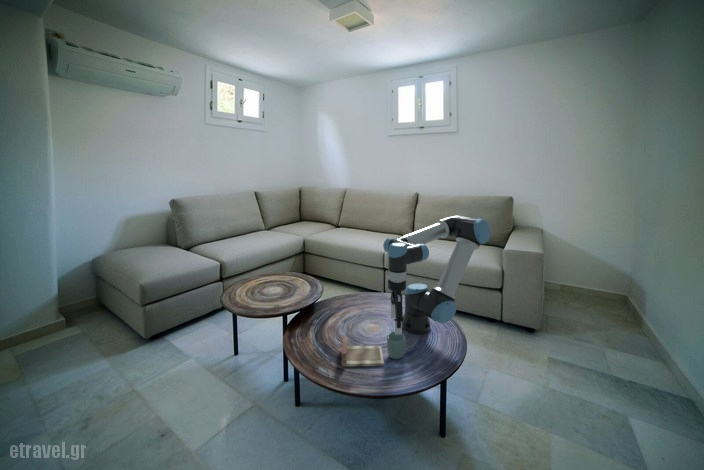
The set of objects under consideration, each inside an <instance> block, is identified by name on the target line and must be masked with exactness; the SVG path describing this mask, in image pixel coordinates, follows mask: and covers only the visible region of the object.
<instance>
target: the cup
mask: <svg viewBox="0 0 704 470" xmlns="http://www.w3.org/2000/svg"><path fill="white" fill-rule="evenodd" d="M405 348H406V336H405V334H404V333H402V334H395V331H391V332H389V333H388V334H387V335H386V351H387V355H388V357H390V358H391V359H393V360H400V359H401V358H402V357H403V356H404V355H405V350H406V349H405Z"/></svg>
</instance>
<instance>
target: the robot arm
mask: <svg viewBox="0 0 704 470" xmlns="http://www.w3.org/2000/svg"><path fill="white" fill-rule="evenodd" d="M448 237H449V238H455V241H456V245H455V247H454V249H453V251H452V253H451V255H450V257H449V259H448V261H447V264H446V266H445V268H444V270H443V272H442V275H441V277H440V278H439V281H438V283H437V285H436V286H434V287H432V289H431V290H429V289H430V288H429V285H427V284H424V283H411V284H408V285H407V281H406V280H407V269H408V267H407V266H408V265H412V264H416V263H420V262H422V261H426V260H427V259H428V258H429V256H430V250H429V248H428V245H427V244H428V243H430V242H433V241H436V240H438V239H446V238H448ZM490 237H491V226H490V224H489V222H488V220H486V219H484V218H480V217H473V216H465V215H452V216H448V217H444V218H442V219H438V220H436V221H435V223H434V224H431V225H428V226H426V227H424V228H421V229H418V230H415V231H413V232H410V233H408V234H404V235H402V236H399V237H396V238H395V237H388V238H386V239H385V240H384V242H383V245H382V246H383V247H382V248H383V250H384V252H386V253H387V255H388V258H387V259H388V263H387V265H388V266H387V267H388V271H387V272H386V275H387V288H388V290H390V291H391V292H390V319H393V321H394V332H395V334H403V332H402V331H403V330H404V331H405V332H407V333H410V334H414V335H421V334H422V335H423V334H426V333H428V332H429V331H430V330H431V322H430V320H432V321H434V322H437V323H440V324H446V323H448V322H450V321H451V320H452V319H453V317H454V316H455V314H456V312H457V304H456V302H455V301H456V297H455V293H456V291H457V288H458V286H459V283H460V282H461V279H462V277H463V275H464V273H465V271H466V270H467V266H468V264H469V262H470V260H471V258H472V256H473V253H474V252H475V250H477V249H479V248H480V246H481V245H484V244H486V243H488V241H489V240H490ZM403 291H405V292H404V308H403V294H402V292H403ZM403 310H404V311H403Z"/></svg>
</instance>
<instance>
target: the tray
mask: <svg viewBox="0 0 704 470" xmlns="http://www.w3.org/2000/svg"><path fill="white" fill-rule="evenodd" d="M347 337H348V336H342V337H341V367H384V365H385V363H384V356H383V355H384V354H383V351H382V350H383V349H382V346H381V345H348V338H347Z"/></svg>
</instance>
